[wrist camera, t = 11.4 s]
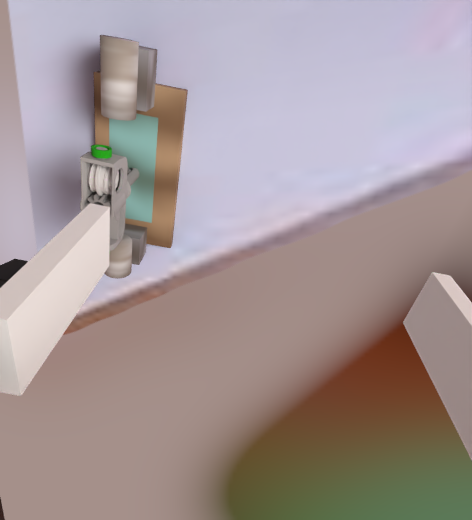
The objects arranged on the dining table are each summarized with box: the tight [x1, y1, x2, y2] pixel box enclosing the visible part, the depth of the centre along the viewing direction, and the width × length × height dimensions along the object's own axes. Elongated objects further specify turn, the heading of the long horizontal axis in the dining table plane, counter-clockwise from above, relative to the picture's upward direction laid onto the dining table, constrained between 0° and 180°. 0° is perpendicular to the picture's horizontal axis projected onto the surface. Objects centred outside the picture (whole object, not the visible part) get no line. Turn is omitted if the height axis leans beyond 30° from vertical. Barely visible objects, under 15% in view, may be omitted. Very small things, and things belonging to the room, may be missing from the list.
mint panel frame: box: [94, 35, 188, 278], centre depth 37 cm, size 23×9×7 cm, turn 170°
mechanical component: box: [80, 145, 139, 254], centre depth 36 cm, size 3×10×10 cm, turn 169°
